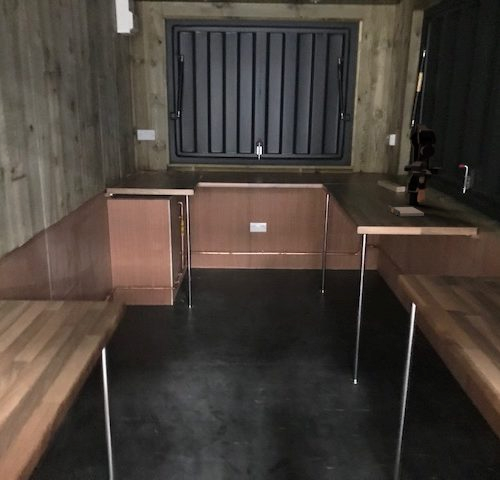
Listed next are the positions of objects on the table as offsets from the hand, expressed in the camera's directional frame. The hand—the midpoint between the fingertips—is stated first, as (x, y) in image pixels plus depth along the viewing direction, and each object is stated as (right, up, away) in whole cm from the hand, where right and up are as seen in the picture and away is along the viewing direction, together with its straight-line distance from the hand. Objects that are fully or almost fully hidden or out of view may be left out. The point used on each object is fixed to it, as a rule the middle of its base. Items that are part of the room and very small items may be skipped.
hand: (421, 186), depth 255 cm
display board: (-8, -13, +2) cm, 15 cm away
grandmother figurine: (0, -7, +2) cm, 8 cm away
